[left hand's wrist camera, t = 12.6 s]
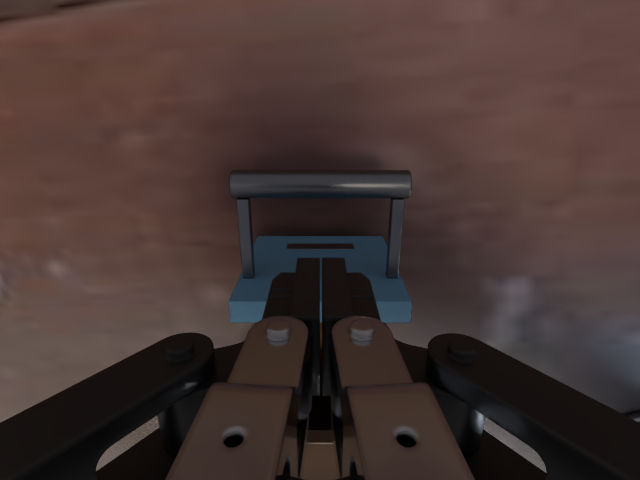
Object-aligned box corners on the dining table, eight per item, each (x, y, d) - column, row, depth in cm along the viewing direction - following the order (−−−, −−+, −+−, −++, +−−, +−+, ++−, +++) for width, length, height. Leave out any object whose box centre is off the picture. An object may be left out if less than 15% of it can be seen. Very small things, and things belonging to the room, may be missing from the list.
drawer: (252, 152, 25) (216, 181, 16) (388, 152, 25) (424, 182, 16) (269, 432, 33) (252, 549, 25) (370, 432, 33) (387, 549, 25)
